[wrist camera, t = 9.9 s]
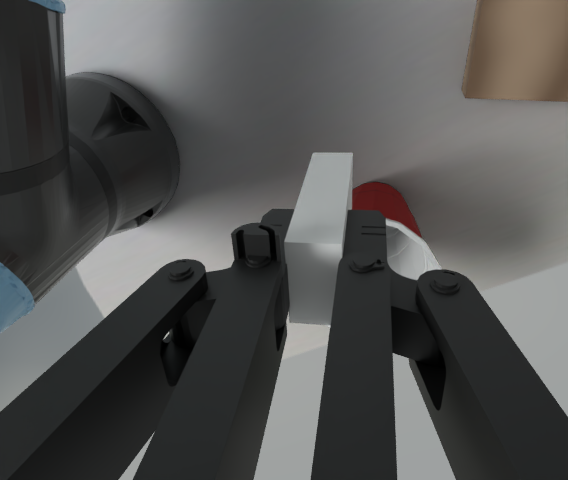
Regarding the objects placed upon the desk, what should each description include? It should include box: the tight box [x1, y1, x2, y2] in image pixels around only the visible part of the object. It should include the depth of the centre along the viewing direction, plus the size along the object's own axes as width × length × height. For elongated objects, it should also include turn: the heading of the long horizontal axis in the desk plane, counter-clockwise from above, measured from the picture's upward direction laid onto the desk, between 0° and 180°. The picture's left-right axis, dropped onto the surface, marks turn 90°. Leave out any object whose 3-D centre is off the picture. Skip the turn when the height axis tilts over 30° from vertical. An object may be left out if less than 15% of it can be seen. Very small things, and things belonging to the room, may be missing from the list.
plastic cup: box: [326, 182, 441, 328], centre depth 38 cm, size 11×11×12 cm
